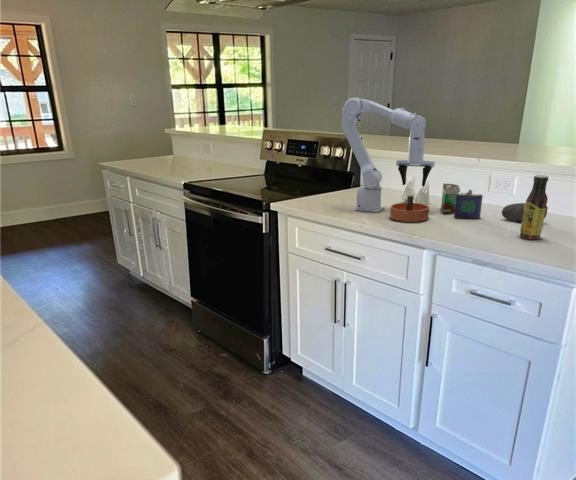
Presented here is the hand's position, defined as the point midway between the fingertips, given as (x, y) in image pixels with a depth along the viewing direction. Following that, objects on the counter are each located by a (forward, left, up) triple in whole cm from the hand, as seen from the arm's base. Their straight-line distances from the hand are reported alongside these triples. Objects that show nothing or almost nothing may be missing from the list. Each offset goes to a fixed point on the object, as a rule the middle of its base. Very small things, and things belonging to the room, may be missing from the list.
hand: (413, 185), depth 199 cm
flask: (+22, -4, -11) cm, 25 cm away
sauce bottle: (+45, -24, -11) cm, 52 cm away
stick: (+2, -12, -10) cm, 16 cm away
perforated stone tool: (+41, -3, -11) cm, 42 cm away
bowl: (+2, -12, -10) cm, 16 cm away
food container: (+14, +5, -11) cm, 18 cm away
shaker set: (-3, +16, -11) cm, 19 cm away
